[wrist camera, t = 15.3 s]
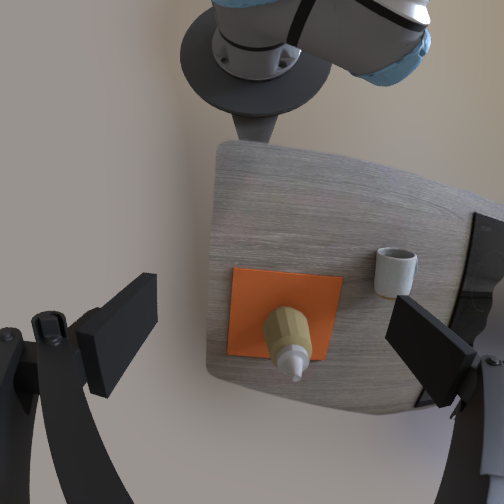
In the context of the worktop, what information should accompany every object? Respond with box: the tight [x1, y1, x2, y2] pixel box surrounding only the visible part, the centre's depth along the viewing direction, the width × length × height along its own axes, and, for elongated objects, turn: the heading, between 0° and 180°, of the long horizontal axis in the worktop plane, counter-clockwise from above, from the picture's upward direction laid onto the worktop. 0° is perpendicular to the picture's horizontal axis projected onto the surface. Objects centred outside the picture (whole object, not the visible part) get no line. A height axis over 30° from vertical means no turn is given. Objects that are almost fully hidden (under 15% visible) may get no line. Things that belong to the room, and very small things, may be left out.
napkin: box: [227, 268, 343, 360], centre depth 52 cm, size 18×20×1 cm
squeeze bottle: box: [263, 306, 312, 382], centre depth 43 cm, size 8×8×18 cm
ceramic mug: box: [374, 248, 418, 300], centre depth 46 cm, size 11×8×8 cm
